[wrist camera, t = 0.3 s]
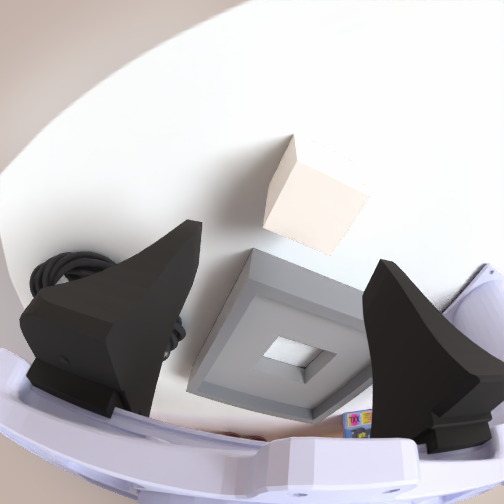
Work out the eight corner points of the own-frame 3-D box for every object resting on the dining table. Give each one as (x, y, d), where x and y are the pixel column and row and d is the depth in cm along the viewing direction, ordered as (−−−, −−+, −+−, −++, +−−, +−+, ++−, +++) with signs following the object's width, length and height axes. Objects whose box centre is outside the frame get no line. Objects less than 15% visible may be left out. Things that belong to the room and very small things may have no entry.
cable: (36, 292, 31) (18, 317, 27) (52, 208, 24) (24, 234, 20) (153, 365, 35) (143, 394, 32) (209, 308, 28) (198, 345, 25)
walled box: (413, 311, 26) (423, 340, 23) (315, 400, 36) (315, 424, 33) (253, 247, 23) (248, 278, 21) (192, 365, 34) (186, 391, 31)
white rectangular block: (350, 160, 19) (370, 196, 14) (321, 209, 21) (330, 256, 17) (294, 132, 18) (297, 160, 14) (268, 185, 20) (262, 227, 16)
